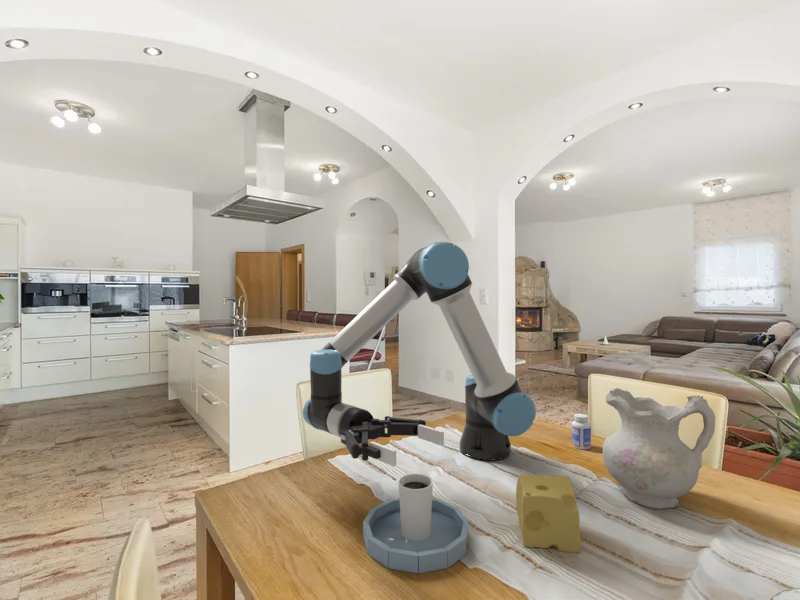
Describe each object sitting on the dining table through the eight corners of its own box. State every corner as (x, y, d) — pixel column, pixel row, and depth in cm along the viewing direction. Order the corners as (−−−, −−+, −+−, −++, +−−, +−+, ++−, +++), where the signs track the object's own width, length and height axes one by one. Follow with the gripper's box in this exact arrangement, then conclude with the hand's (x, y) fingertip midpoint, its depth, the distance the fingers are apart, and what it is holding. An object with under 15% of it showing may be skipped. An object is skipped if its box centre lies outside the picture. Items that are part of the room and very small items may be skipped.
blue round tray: (445, 504, 92) (445, 491, 92) (486, 560, 73) (486, 543, 73) (357, 517, 87) (357, 503, 87) (376, 581, 68) (376, 563, 68)
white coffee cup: (416, 518, 85) (416, 470, 84) (440, 532, 80) (439, 482, 79) (391, 531, 80) (391, 480, 80) (415, 547, 75) (414, 493, 75)
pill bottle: (589, 444, 128) (589, 413, 128) (591, 450, 123) (591, 418, 123) (571, 442, 130) (571, 412, 129) (572, 448, 124) (572, 417, 124)
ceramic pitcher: (692, 489, 101) (689, 387, 102) (733, 527, 82) (728, 401, 83) (596, 479, 106) (594, 383, 108) (614, 513, 88) (611, 395, 89)
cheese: (581, 555, 74) (581, 500, 74) (520, 547, 77) (520, 495, 76) (569, 523, 85) (569, 475, 84) (515, 517, 87) (515, 471, 87)
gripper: (390, 426, 102) (459, 448, 87) (303, 455, 85) (371, 490, 70) (390, 396, 102) (459, 413, 87) (303, 419, 84) (370, 446, 69)
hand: (420, 447), depth 78 cm, fingers open, 13 cm apart
